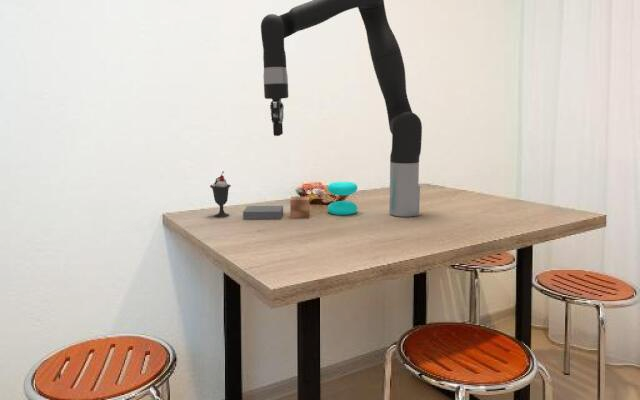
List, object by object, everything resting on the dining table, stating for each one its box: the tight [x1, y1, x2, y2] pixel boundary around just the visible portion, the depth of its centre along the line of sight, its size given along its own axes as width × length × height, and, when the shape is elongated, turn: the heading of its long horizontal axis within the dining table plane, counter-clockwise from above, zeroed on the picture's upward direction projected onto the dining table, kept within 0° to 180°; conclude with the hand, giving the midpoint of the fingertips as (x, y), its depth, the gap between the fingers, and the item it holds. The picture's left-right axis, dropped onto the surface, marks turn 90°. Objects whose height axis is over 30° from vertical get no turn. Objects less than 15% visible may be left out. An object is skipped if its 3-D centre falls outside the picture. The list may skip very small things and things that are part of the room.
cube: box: [289, 196, 311, 219], centre depth 158 cm, size 6×6×6 cm
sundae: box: [209, 170, 231, 218], centre depth 159 cm, size 7×7×15 cm
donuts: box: [327, 181, 358, 216], centre depth 162 cm, size 10×10×10 cm
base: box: [242, 205, 284, 221], centre depth 159 cm, size 12×10×3 cm
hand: (278, 135), depth 154 cm, fingers open, 8 cm apart
